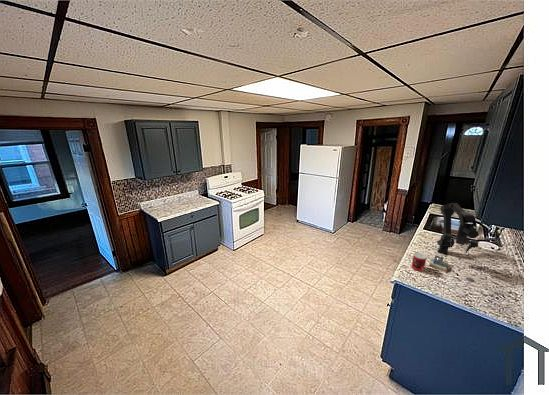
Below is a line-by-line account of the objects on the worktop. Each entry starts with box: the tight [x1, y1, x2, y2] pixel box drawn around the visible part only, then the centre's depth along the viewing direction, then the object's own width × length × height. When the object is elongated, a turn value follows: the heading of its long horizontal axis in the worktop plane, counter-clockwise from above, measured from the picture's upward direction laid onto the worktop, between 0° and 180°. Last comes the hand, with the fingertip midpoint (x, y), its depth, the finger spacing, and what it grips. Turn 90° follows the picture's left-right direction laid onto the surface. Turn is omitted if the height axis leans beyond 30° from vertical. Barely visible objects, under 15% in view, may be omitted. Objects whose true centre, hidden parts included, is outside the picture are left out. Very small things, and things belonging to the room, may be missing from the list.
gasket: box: [465, 276, 475, 283], centre depth 147 cm, size 4×4×1 cm
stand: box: [428, 257, 449, 273], centre depth 161 cm, size 10×10×2 cm
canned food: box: [411, 251, 428, 272], centre depth 157 cm, size 8×8×11 cm
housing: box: [433, 254, 444, 266], centre depth 160 cm, size 7×5×4 cm
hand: (457, 250), depth 159 cm, fingers open, 9 cm apart
